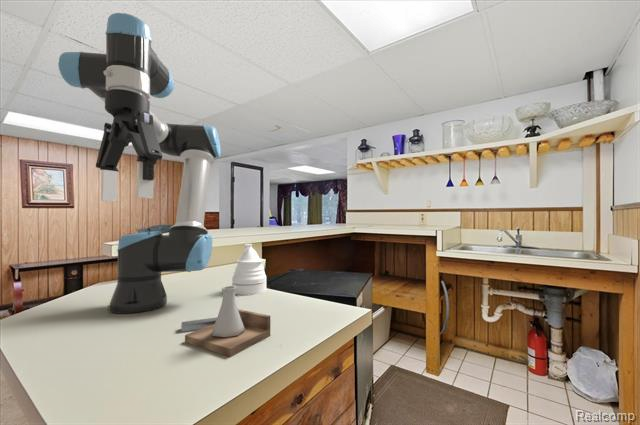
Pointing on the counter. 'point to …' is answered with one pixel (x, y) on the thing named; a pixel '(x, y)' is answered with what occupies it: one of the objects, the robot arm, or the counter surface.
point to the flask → (228, 315)
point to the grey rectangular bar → (197, 324)
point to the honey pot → (249, 273)
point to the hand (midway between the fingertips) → (125, 199)
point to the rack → (229, 346)
